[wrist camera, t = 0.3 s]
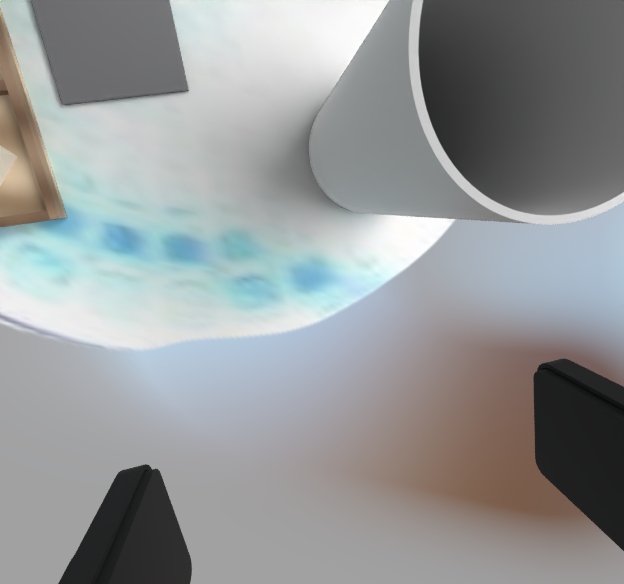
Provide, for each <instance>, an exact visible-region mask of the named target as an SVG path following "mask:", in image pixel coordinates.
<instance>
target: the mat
mask: <svg viewBox="0 0 624 584" xmlns="http://www.w3.org/2000/svg"><path fill="white" fill-rule="evenodd" d="M31 2H32V5H33V8H34V12H35V15H36V18H37V22H38V25H39V28H40V32H41V35H42V39H43V42H44V45H45V49H46V52H47V55H48V59H49V62H50V65H51V69H52V72H53V75H54V79H55V82H56V85H57V89H58V92H59V95H60V99H61V102H62V104H63V105H70V104H78V103H87V102H96V101H104V100H113V99H121V98H130V97H138V96H147V95H156V94H164V93H173V92H181V91H189V90H188V86H187V81H186V76H185V72H184V67H183V62H182V58H181V53H180V48H179V44H178V39H177V34H176V30H175V25H174V20H173V16H172V11H171V6H170V2H169V0H31Z"/></svg>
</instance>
